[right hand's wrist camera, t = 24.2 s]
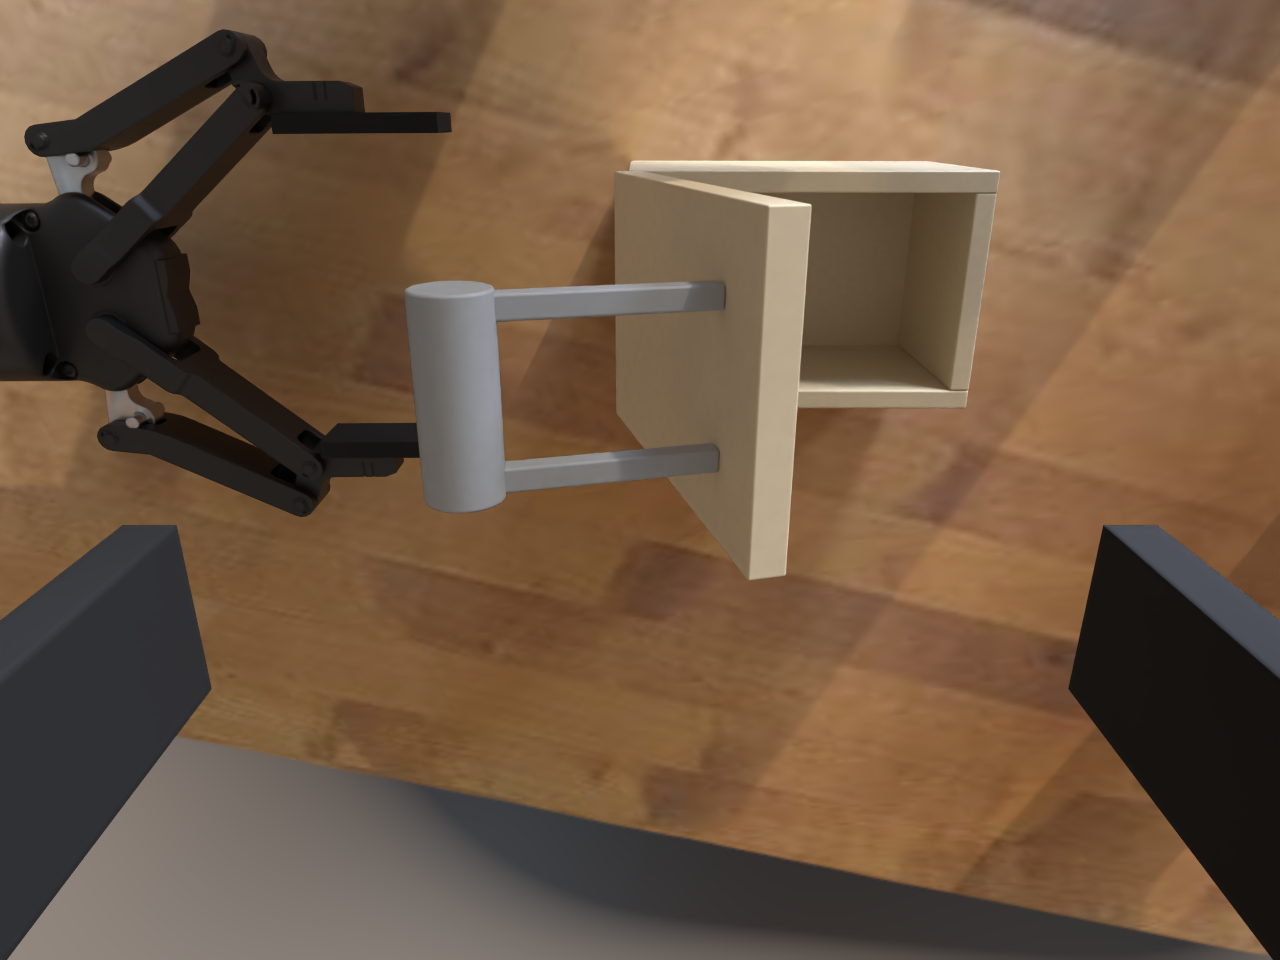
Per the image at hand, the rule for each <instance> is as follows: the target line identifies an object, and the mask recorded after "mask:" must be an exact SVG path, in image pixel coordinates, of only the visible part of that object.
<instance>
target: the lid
mask: <svg viewBox="0 0 1280 960" xmlns="http://www.w3.org/2000/svg"><path fill="white" fill-rule="evenodd" d="M614 204H615V285H595V286H571V287H548V288H525V289H501V290H495V289H494V287H493V286H492V285H489V284H486V283H482V282H475V281H437V282H428V283H421V284H417V285H413V286H410V287H408V288H406V289H405V292H404V298H405V308H406V319H407V329H408V339H409V350H410V360H411V370H412V381H413V391H414V401H415V412H416V422H417V432H418V443H419V453H420V463H421V474H422V484H423V494H424V501H425V502H426V504H427V505H428V506H429V507H430V508H432V509H434V510H437V511H441V512H447V513H471V512H477V511H482V510H486V509H489V508H492V507H494V506H496V505H498V504H500V503H501V502H502V501H503V500H504V499H505V497H506V494H507V493H509V492H520V491H530V490H540V489H551V488H561V487H571V486H582V485H592V484H602V483H612V482H623V481H633V480H643V479H654V478H664V477H667V478H668V479H669V481H670V482H671V483H672V485H673V486H674V487H675V488H676V490H677V491H678V492H679V493H680V495H681V496H682V497H683V499H684V500H685V501H686V502H687V504H688V505H689V506H690V507H691V509H692V510H693V511H694V513H695V514H696V515H697V516H698V518H699V519H700V520H701V521H702V523H703V524H704V525H705V526H706V528H707V529H708V530H709V532H710V533H711V534H712V535H713V537H714V538H715V539H716V540H717V542H718V543H719V544H720V546H721V547H722V548H723V549H724V551H725V552H726V553H727V554H728V556H729V557H730V558H731V560H732V561H733V562H734V563H735V565H736V566H737V567H738V568H739V570H740V571H741V572H742V574H743V575H744V576H745V577H746V579H747V580H757V579H765V578H773V577H780V576H785V574H786V561H787V547H788V532H789V518H790V504H791V490H792V476H793V462H794V448H795V433H796V419H797V405H798V391H799V377H800V363H801V349H802V334H803V320H804V306H805V292H806V278H807V264H808V250H809V236H810V221H811V205H810V204H807V203H802V202H797V201H792V200H787V199H782V198H776V197H771V196H766V195H761V194H756V193H751V192H746V191H741V190H735V189H730V188H725V187H720V186H715V185H710V184H705V183H700V182H694V181H689V180H684V179H679V178H674V177H669V176H664V175H659V174H654V173H648V172H643V171H615V172H614ZM601 316H615V319H616V413H617V415H618V416H619V417H620V419H621V420H622V421H623V422H624V424H625V425H626V426H627V427H628V429H629V430H630V431H631V432H632V434H633V435H634V436H635V438H636V439H637V440H638V441H639V443H640V444H641V445H642V446H643V448H644V449H638V450H626V451H615V452H604V453H593V454H581V455H570V456H559V457H548V458H536V459H525V460H514V461H505V454H504V437H503V420H502V403H501V386H500V369H499V352H498V335H497V322H504V321H523V320H543V319H562V318H581V317H601Z"/></svg>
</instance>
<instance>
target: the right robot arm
mask: <svg viewBox="0 0 1280 960" xmlns="http://www.w3.org/2000/svg"><path fill="white" fill-rule="evenodd" d="M211 689H212V688H211V684H210V679H209V674H208V670H207V665H206V660H205V656H204V651H203V646H202V642H201V637H200V632H199V628H198V623H197V618H196V614H195V609H194V604H193V600H192V595H191V590H190V586H189V581H188V576H187V572H186V567H185V562H184V558H183V553H182V548H181V544H180V539H179V534H178V530H177V525H122V526H121V527H120V528H118V529H117V530H116V531H115V532H113V533H112V534H111V535H109V536H108V537H107V538H106V539H104V540H103V541H102V542H100V543H99V544H98V545H97V546H95V547H94V548H93V549H91V550H90V551H89V552H88V553H86V554H85V555H84V556H82V557H81V558H80V559H79V560H77V561H76V562H75V563H74V564H72V565H71V566H70V567H68V568H67V569H66V570H65V571H63V572H62V573H61V574H59V575H58V576H57V577H56V578H54V579H53V580H52V581H50V582H49V583H48V584H47V585H45V586H44V587H43V588H41V589H40V590H39V591H38V592H36V593H35V594H34V595H32V596H31V597H30V598H29V599H27V600H26V601H25V602H23V603H22V604H21V605H20V606H18V607H17V608H16V609H14V610H13V611H12V612H11V613H9V614H8V615H7V616H6V617H4V618H3V619H2V620H0V960H7V959H8V958H9V956H10V955H11V954H12V952H13V951H14V950H15V948H16V947H17V946H18V944H19V943H20V942H21V940H22V939H23V938H24V936H25V935H26V934H27V932H28V931H29V930H30V929H31V927H32V926H33V925H34V923H35V922H36V921H37V919H38V918H39V917H40V915H41V914H42V913H43V911H44V910H45V909H46V907H47V906H48V905H49V903H50V902H51V901H52V899H53V898H54V897H55V895H56V894H57V893H58V891H59V890H60V889H61V887H62V886H63V885H64V884H65V882H66V881H67V880H68V878H69V877H70V876H71V874H72V873H73V872H74V870H75V869H76V868H77V866H78V865H79V864H80V862H81V861H82V860H83V858H84V857H85V856H86V854H87V853H88V852H89V850H90V849H91V848H92V846H93V845H94V844H95V842H96V841H97V840H98V839H99V837H100V836H101V835H102V833H103V832H104V831H105V829H106V828H107V827H108V825H109V824H110V823H111V821H112V820H113V819H114V817H115V816H116V815H117V813H118V812H119V811H120V809H121V808H122V807H123V805H124V804H125V803H126V801H127V800H128V799H129V797H130V796H131V795H132V793H133V792H134V791H135V790H136V788H137V787H138V786H139V784H140V783H141V782H142V780H143V779H144V778H145V776H146V775H147V774H148V772H149V771H150V770H151V768H152V767H153V766H154V764H155V763H156V762H157V760H158V759H159V758H160V756H161V755H162V754H163V752H164V751H165V750H166V748H167V747H168V746H169V745H170V743H171V742H172V740H173V739H174V738H175V737H176V735H177V734H178V733H179V731H180V730H181V729H182V727H183V726H184V725H185V723H186V722H187V721H188V719H189V718H190V717H191V715H192V714H193V713H194V711H195V710H196V709H197V707H198V706H199V705H200V704H201V702H202V701H203V700H204V698H205V697H206V696H207V694H208V693H209V692H210V690H211ZM1068 689H1069V690H1070V692H1071V693H1072V694H1073V696H1074V697H1075V698H1076V700H1077V701H1078V702H1079V704H1080V705H1081V706H1082V708H1083V709H1084V710H1085V711H1086V713H1087V714H1088V715H1089V717H1090V718H1091V719H1092V721H1093V722H1094V723H1095V725H1096V726H1097V727H1098V729H1099V730H1100V731H1101V733H1102V734H1103V735H1104V737H1105V738H1106V739H1107V741H1108V742H1109V743H1110V745H1111V746H1112V747H1113V749H1114V750H1115V751H1116V753H1117V754H1118V755H1119V756H1120V758H1121V759H1122V760H1123V762H1124V763H1125V764H1126V766H1127V767H1128V768H1129V770H1130V771H1131V772H1132V774H1133V775H1134V776H1135V778H1136V779H1137V780H1138V782H1139V783H1140V784H1141V786H1142V787H1143V788H1144V790H1145V791H1146V792H1147V794H1148V795H1149V796H1150V797H1151V799H1152V800H1153V801H1154V803H1155V804H1156V805H1157V807H1158V808H1159V809H1160V811H1161V812H1162V813H1163V815H1164V816H1165V817H1166V819H1167V820H1168V821H1169V823H1170V824H1171V825H1172V827H1173V828H1174V829H1175V831H1176V832H1177V833H1178V835H1179V836H1180V837H1181V839H1182V840H1183V841H1184V842H1185V844H1186V845H1187V846H1188V848H1189V849H1190V850H1191V852H1192V853H1193V854H1194V856H1195V857H1196V858H1197V860H1198V861H1199V862H1200V864H1201V865H1202V866H1203V868H1204V869H1205V870H1206V872H1207V873H1208V874H1209V876H1210V877H1211V878H1212V880H1213V881H1214V882H1215V884H1216V885H1217V886H1218V887H1219V889H1220V890H1221V891H1222V893H1223V894H1224V895H1225V897H1226V898H1227V899H1228V901H1229V902H1230V903H1231V905H1232V906H1233V907H1234V909H1235V910H1236V911H1237V913H1238V914H1239V915H1240V917H1241V918H1242V919H1243V921H1244V922H1245V923H1246V925H1247V926H1248V927H1249V929H1250V930H1251V931H1252V932H1253V934H1254V935H1255V936H1256V938H1257V939H1258V940H1259V942H1260V943H1261V944H1262V946H1263V947H1264V948H1265V950H1266V951H1267V952H1268V954H1269V955H1270V956H1271V958H1272V959H1273V960H1280V620H1278V619H1277V618H1276V617H1274V616H1273V615H1272V614H1271V613H1269V612H1268V611H1267V610H1266V609H1264V608H1263V607H1262V606H1260V605H1259V604H1258V603H1257V602H1255V601H1254V600H1253V599H1251V598H1250V597H1249V596H1248V595H1246V594H1245V593H1244V592H1242V591H1241V590H1240V589H1239V588H1237V587H1236V586H1235V585H1233V584H1232V583H1231V582H1230V581H1228V580H1227V579H1226V578H1224V577H1223V576H1222V575H1221V574H1219V573H1218V572H1217V571H1215V570H1214V569H1213V568H1212V567H1210V566H1209V565H1208V564H1206V563H1205V562H1204V561H1203V560H1201V559H1200V558H1199V557H1198V556H1196V555H1195V554H1194V553H1192V552H1191V551H1190V550H1189V549H1187V548H1186V547H1185V546H1183V545H1182V544H1181V543H1180V542H1178V541H1177V540H1176V539H1174V538H1173V537H1172V536H1171V535H1169V534H1168V533H1167V532H1165V531H1164V530H1163V529H1162V528H1160V527H1159V526H1158V525H1103V530H1102V534H1101V539H1100V544H1099V548H1098V553H1097V558H1096V562H1095V567H1094V572H1093V576H1092V581H1091V586H1090V590H1089V595H1088V600H1087V604H1086V609H1085V614H1084V618H1083V623H1082V628H1081V632H1080V637H1079V642H1078V646H1077V651H1076V656H1075V660H1074V665H1073V670H1072V674H1071V679H1070V684H1069V688H1068Z"/></svg>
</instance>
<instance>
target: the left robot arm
mask: <svg viewBox="0 0 1280 960" xmlns="http://www.w3.org/2000/svg"><path fill="white" fill-rule="evenodd" d="M232 83H233V84H232ZM231 84H232V85H233V86H234V87H235V88H236V90H235V91H234V92H233V93H232V94H231V95H230V96H229V97H228V98H227V99H226V101H225V102H224V103H223V104H222V105H221V106H220V107H219V108H218V109H217V110H216V111H215V113H214V114H213V115H212V116H211V117H210V118H209V119H208V120H207V121H206V122H205V124H204V125H203V126H202V127H201V128H200V129H199V130H198V131H197V132H196V133H195V134H194V136H193V137H192V138H191V139H190V140H189V141H188V142H187V143H186V144H185V145H184V146H183V148H182V149H181V150H180V151H179V152H178V153H177V154H176V155H175V156H174V157H173V159H172V160H171V161H170V162H169V163H168V164H167V165H166V166H165V167H164V168H163V169H162V171H161V172H160V173H159V174H158V175H157V176H156V177H155V178H154V179H153V180H152V182H151V183H150V184H149V185H148V186H147V187H146V188H145V189H144V190H143V191H142V192H141V193H140V194H139V195H137V196H135V197H133V198H132V199H130V200H129V201H128V202H127V203H126V204H125V205H124V206H123V207H122V206H120V205H119V204H117V203H116V202H114V201H113V200H111V199H110V198H108V197H106V196H105V195H103V194H101V193H98V192H95V190H94V186H93V184H94V179H95V177H96V176H97V175H98V174H100V173H102V172H104V171H105V170H106V169H107V168H108V167H109V164H110V162H111V160H112V158H111V155H110V153H109V152H108V151H112V150H117V149H120V148H123V147H126V146H129V145H131V144H133V143H135V142H136V141H138V140H140V139H142V138H143V137H145V136H146V135H148V134H150V133H151V132H153V131H155V130H156V129H158V128H160V127H161V126H163V125H165V124H166V123H168V122H170V121H171V120H173V119H175V118H176V117H178V116H179V115H181V114H183V113H184V112H186V111H188V110H189V109H191V108H193V107H194V106H196V105H198V104H199V103H201V102H203V101H204V100H206V99H208V98H209V97H211V96H212V95H214V94H216V93H217V92H219V91H221V90H222V89H224V88H226V87H227V86H229V85H231ZM271 127H272V132H273V134H323V133H444V132H452V131H451V118H450V113H444V112H376V113H365V108H364V99H363V90H362V87H359V86H357V85H354V84H352V83H349V82H342V81H283V80H281V79H280V78H279V77H278V76H277V75H276V74H275V73H274V72H273V70H272V68H271V66H270V64H269V62H268V60H267V50H266V47H265V45H264V43H263V42H262V41H261V40H260V39H259V38H257V37H255V36H252V35H248V34H244V33H239V32H235V31H230V30H220V31H217V32H215V33H214V34H212V35H210V36H209V37H207V38H206V39H204V40H202V41H201V42H199V43H198V44H196V45H194V46H193V47H191V48H190V49H188V50H186V51H185V52H183V53H181V54H180V55H178V56H177V57H175V58H173V59H172V60H170V61H169V62H167V63H165V64H164V65H162V66H161V67H159V68H157V69H156V70H154V71H152V72H151V73H149V74H148V75H146V76H144V77H143V78H141V79H140V80H138V81H136V82H135V83H133V84H132V85H130V86H128V87H127V88H125V89H123V90H122V91H120V92H119V93H117V94H115V95H114V96H112V97H111V98H109V99H107V100H106V101H104V102H102V103H101V104H99V105H98V106H96V107H94V108H93V109H91V110H90V111H88V112H86V113H85V114H83V115H82V116H80V117H78V118H77V119H74V120H67V121H59V122H52V123H44V124H37V125H33V126H30V127H29V128H28V129H27V130H26V132H25V136H24V137H25V143H26V145H27V147H28V149H29V150H30V151H31V152H32V153H33V154H35V155H37V156H40V157H46V158H47V161H48V164H49V167H50V170H51V173H52V175H53V178H54V181H55V184H56V187H57V190H58V193H59V196H57V197H56V198H55V199H53V200H52V201H50V202H48V203H31V204H0V381H72V380H78V381H85V382H89V383H92V384H94V385H96V386H98V387H100V388H103V389H105V395H106V403H107V411H108V420H109V424H107V425H105V426H103V427H102V428H100V429H99V431H98V435H97V438H98V441H99V443H100V444H101V445H102V446H103V447H104V448H106V449H108V450H111V451H120V452H130V453H140V454H150V455H153V456H155V457H157V458H160V459H162V460H164V461H167V462H169V463H172V464H174V465H176V466H179V467H181V468H184V469H186V470H188V471H191V472H193V473H196V474H198V475H200V476H203V477H205V478H207V479H210V480H212V481H215V482H217V483H219V484H222V485H224V486H227V487H229V488H231V489H234V490H236V491H239V492H241V493H243V494H246V495H248V496H250V497H253V498H255V499H258V500H260V501H262V502H265V503H267V504H270V505H272V506H274V507H277V508H279V509H282V510H284V511H286V512H289V513H291V514H293V515H296V516H300V517H305V516H308V515H309V514H311V513H312V511H313V510H314V509H315V508H316V507H317V506H318V504H319V503H320V502H321V501H322V500H323V498H324V497H325V496H326V495H327V494H328V492H329V491H330V483H329V482H330V478H331V477H364V476H366V477H373V476H375V477H386V476H389V475H391V474H394V473H396V472H397V471H398V469H399V468H400V467H401V465H402V464H403V462H404V458H420V453H419V443H418V432H417V423H338V424H337V425H336V426H335V427H334V428H333V429H332V430H331V431H330V432H329V433H328V434H327V435H326V436H325V435H323V434H322V433H320V432H319V431H318V430H316V429H315V428H313V427H312V426H311V425H309V424H308V423H306V422H305V421H304V420H302V419H301V418H299V417H298V416H297V415H295V414H294V413H292V412H291V411H290V410H288V409H287V408H285V407H284V406H283V405H281V404H280V403H278V402H277V401H276V400H274V399H273V398H271V397H270V396H269V395H267V394H266V393H264V392H263V391H262V390H260V389H259V388H257V387H256V386H255V385H253V384H252V383H250V382H249V381H248V380H246V379H245V378H243V377H242V376H241V375H239V374H238V373H236V372H235V371H234V370H232V369H231V368H229V367H228V366H227V365H225V364H224V363H222V362H221V361H220V359H219V355H218V354H217V353H216V352H215V351H214V350H213V349H211V348H210V347H208V346H207V345H206V344H204V343H203V342H201V341H200V340H199V339H197V338H196V337H194V336H193V334H194V331H195V326H196V325H198V324H200V320H199V314H198V309H197V306H196V303H195V301H194V299H193V297H192V295H191V293H190V290H189V281H190V267H189V262H188V257H187V254H181V252H180V250H179V248H178V246H177V245H176V244H175V243H174V242H173V241H172V239H171V238H172V237H173V235H174V234H175V233H176V232H177V231H178V230H179V229H180V228H181V227H182V226H183V225H184V224H185V223H186V222H187V221H188V220H189V218H190V217H191V216H192V211H193V210H194V209H195V208H196V207H197V205H198V204H199V203H200V202H201V201H202V200H203V199H204V198H205V197H206V196H207V195H208V194H209V193H210V192H211V191H212V190H213V188H214V187H215V186H216V185H217V184H218V183H219V182H220V181H221V180H222V179H223V178H224V177H225V176H226V175H227V174H228V173H229V171H230V170H231V169H232V168H233V167H234V166H235V165H236V164H237V163H238V162H239V161H240V160H241V159H242V158H243V157H244V156H245V154H246V153H247V152H248V151H249V150H250V149H251V148H252V147H253V146H254V145H255V144H256V143H257V142H258V141H259V140H260V139H261V137H262V136H263V135H264V134H265V133H266V132H267V131H268V130H269V129H270V128H271ZM172 357H175V358H176V359H178V360H175V359H173V358H172ZM146 378H148V379H150V380H151V381H153V382H154V383H156V384H157V385H158V386H160V387H161V388H163V389H164V390H166V391H168V392H170V393H173V394H180V395H183V396H184V397H186V398H187V399H189V400H190V401H192V402H193V403H195V404H196V405H197V406H199V407H200V408H202V409H203V410H205V411H206V412H208V413H209V414H210V415H212V416H213V417H215V418H216V419H218V420H219V421H221V422H222V423H223V424H225V425H226V426H228V427H229V428H231V429H232V430H233V431H235V432H236V433H238V434H239V435H241V436H242V437H244V438H245V439H246V440H248V441H249V442H251V443H252V444H254V445H255V446H257V447H255V446H253V445H251V444H248V443H246V442H244V441H241V440H239V439H237V438H234V437H232V436H230V435H227V434H225V433H223V432H220V431H218V430H216V429H213V428H211V427H209V426H206V425H204V424H202V423H199V422H197V421H195V420H192V419H189V418H187V417H184V416H181V415H177V414H173V413H166V412H164V411H165V408H164V405H163V404H162V403H160V402H155V401H152V400H149V399H147V398H145V397H144V396H143V395H142V394H141V393H140V391H139V389H138V385H137V384H139V383H141V382H143V381H144V380H145V379H146Z"/></svg>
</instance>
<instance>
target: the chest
mask: <svg viewBox="0 0 1280 960" xmlns="http://www.w3.org/2000/svg"><path fill="white" fill-rule="evenodd" d="M629 171H643V172H648V173H654V174H659V175H664V176H669V177H674V178H679V179H684V180H689V181H694V182H700V183H705V184H710V185H715V186H720V187H725V188H730V189H735V190H741V191H746V192H751V193H756V194H761V195H766V196H771V197H776V198H782V199H787V200H792V201H797V202H802V203H807V204H810V205H811V221H810V236H809V250H808V264H807V278H806V292H805V306H804V320H803V334H802V349H801V363H800V377H799V391H798V405H797V408H965V407H966V402H967V395H968V391H967V390H968V389H969V382H970V375H971V368H972V362H973V355H974V348H975V341H976V334H977V327H978V320H979V313H980V306H981V299H982V292H983V285H984V279H985V272H986V265H987V258H988V251H989V244H990V237H991V230H992V223H993V216H994V209H995V202H996V196H997V195H996V193H997V190H998V183H999V176H1000V171H996V170H988V169H981V168H974V167H967V166H959V165H952V164H945V163H937V162H930V161H631V163H630V167H629Z"/></svg>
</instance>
